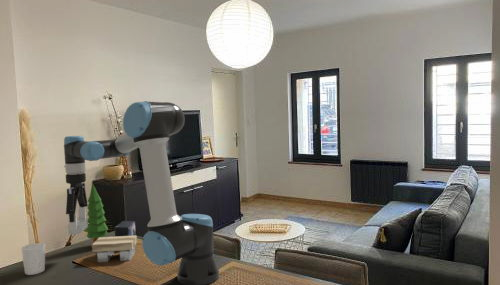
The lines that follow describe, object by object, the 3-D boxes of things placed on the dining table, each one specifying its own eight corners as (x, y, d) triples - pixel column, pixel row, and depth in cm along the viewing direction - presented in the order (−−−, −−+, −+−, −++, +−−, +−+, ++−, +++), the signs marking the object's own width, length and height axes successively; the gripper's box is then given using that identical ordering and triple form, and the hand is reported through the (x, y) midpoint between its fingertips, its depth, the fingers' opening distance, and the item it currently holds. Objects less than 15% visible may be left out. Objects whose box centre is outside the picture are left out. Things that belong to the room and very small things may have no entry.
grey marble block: (78, 234, 154) (78, 224, 153) (68, 234, 153) (68, 225, 153) (87, 227, 163) (87, 218, 163) (78, 227, 163) (77, 218, 163)
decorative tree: (83, 249, 171) (79, 184, 169) (92, 242, 180) (89, 180, 178) (104, 249, 171) (101, 183, 169) (112, 242, 180) (109, 180, 178)
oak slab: (132, 249, 156) (131, 242, 156) (92, 252, 155) (91, 244, 155) (137, 242, 166) (136, 235, 166) (99, 244, 165) (99, 237, 165)
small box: (129, 249, 169) (128, 227, 169) (114, 250, 170) (113, 227, 169) (136, 242, 180) (135, 220, 179) (123, 242, 180) (122, 220, 179)
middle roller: (107, 261, 156) (107, 252, 155) (97, 262, 155) (97, 252, 155) (114, 253, 166) (113, 244, 165) (104, 253, 165) (104, 244, 165)
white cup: (18, 274, 145) (16, 248, 144) (36, 266, 152) (34, 242, 152) (33, 276, 142) (32, 250, 142) (51, 268, 150) (49, 244, 149)
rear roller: (130, 260, 156) (129, 251, 156) (120, 260, 156) (119, 251, 156) (135, 251, 166) (134, 243, 166) (125, 252, 166) (125, 243, 166)
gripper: (76, 169, 168) (78, 218, 169) (54, 177, 145) (57, 234, 147) (93, 169, 168) (95, 218, 170) (74, 177, 146) (77, 233, 147)
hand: (78, 225), depth 158 cm, fingers closed on grey marble block, 10 cm apart
